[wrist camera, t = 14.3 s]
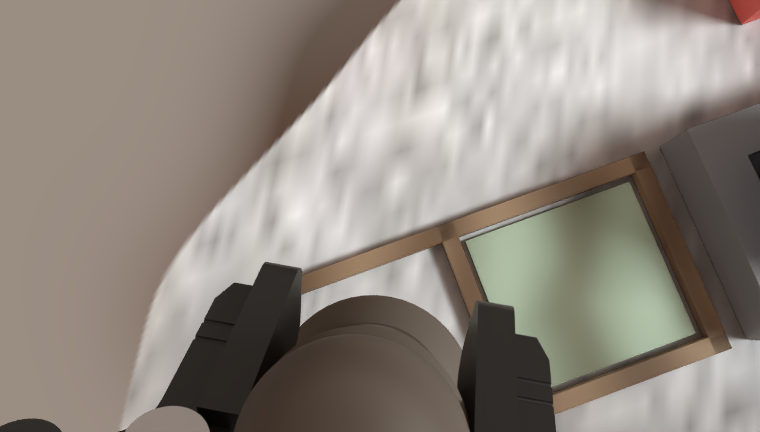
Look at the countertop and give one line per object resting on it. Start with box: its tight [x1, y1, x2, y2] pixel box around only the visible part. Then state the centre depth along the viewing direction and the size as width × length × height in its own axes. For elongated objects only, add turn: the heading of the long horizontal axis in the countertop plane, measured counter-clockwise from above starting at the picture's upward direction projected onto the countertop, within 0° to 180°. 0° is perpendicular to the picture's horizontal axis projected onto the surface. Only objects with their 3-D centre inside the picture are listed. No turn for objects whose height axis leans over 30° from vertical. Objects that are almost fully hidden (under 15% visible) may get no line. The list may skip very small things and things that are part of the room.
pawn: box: [234, 295, 470, 432], centre depth 12 cm, size 5×5×9 cm
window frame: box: [301, 152, 732, 414], centre depth 30 cm, size 21×10×1 cm, turn 110°
